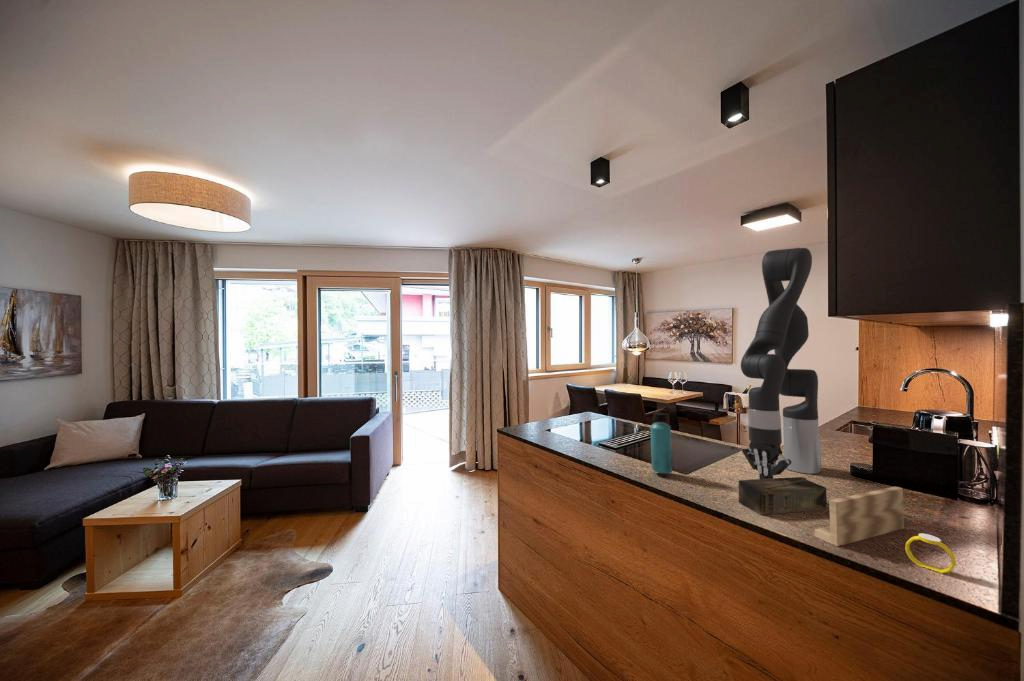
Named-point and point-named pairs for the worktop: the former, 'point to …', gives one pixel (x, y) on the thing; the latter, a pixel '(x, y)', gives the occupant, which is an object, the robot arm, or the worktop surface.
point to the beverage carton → (782, 495)
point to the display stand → (863, 516)
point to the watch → (935, 541)
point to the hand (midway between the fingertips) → (766, 487)
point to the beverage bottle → (661, 445)
